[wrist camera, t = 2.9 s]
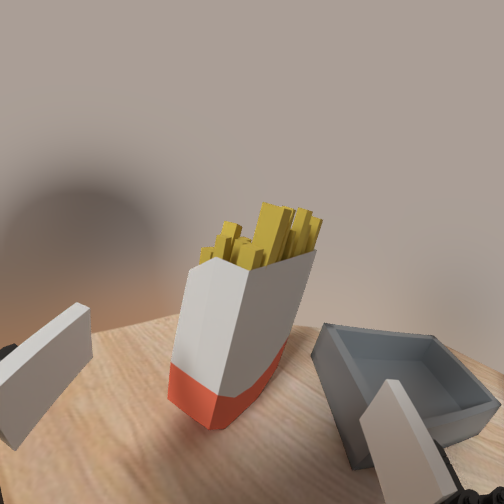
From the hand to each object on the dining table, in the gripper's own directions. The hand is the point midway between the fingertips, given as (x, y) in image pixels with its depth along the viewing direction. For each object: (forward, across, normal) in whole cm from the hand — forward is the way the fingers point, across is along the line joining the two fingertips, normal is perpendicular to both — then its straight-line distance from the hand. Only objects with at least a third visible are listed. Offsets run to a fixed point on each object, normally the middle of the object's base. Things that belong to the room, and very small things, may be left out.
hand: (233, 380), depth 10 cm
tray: (+13, +21, -11) cm, 27 cm away
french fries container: (+10, 0, -12) cm, 15 cm away
